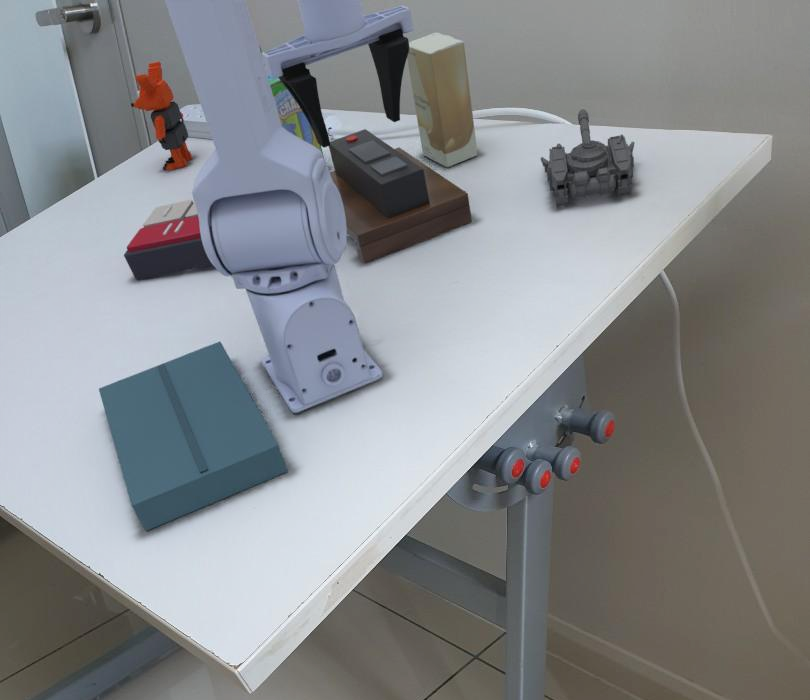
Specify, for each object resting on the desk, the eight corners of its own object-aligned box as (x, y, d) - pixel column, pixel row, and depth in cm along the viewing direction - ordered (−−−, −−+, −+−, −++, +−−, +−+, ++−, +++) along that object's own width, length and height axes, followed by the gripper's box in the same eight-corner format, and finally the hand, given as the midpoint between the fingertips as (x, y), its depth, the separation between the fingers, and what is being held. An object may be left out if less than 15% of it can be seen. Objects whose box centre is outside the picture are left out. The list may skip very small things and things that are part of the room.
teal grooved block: (288, 471, 64) (277, 443, 62) (146, 531, 62) (130, 504, 60) (229, 365, 77) (219, 339, 75) (110, 412, 75) (97, 386, 73)
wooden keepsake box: (472, 222, 88) (468, 193, 86) (364, 264, 86) (357, 235, 84) (404, 173, 101) (399, 146, 99) (309, 208, 99) (301, 182, 97)
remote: (429, 203, 86) (423, 166, 84) (388, 218, 85) (380, 182, 83) (372, 160, 98) (364, 127, 95) (335, 173, 97) (327, 140, 94)
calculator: (152, 204, 99) (273, 177, 96) (168, 239, 102) (286, 215, 98) (118, 249, 92) (249, 222, 88) (137, 286, 95) (264, 261, 91)
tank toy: (541, 166, 94) (536, 116, 91) (631, 151, 93) (630, 99, 89) (545, 214, 86) (540, 161, 82) (644, 198, 84) (643, 144, 81)
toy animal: (165, 155, 123) (131, 63, 115) (201, 150, 122) (168, 57, 114) (145, 179, 118) (107, 84, 109) (182, 173, 116) (146, 77, 108)
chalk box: (229, 188, 109) (186, 59, 99) (287, 158, 112) (250, 31, 102) (271, 200, 103) (229, 65, 93) (330, 169, 106) (296, 35, 96)
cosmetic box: (421, 155, 104) (401, 43, 95) (453, 143, 105) (435, 30, 96) (448, 169, 99) (428, 52, 91) (480, 155, 100) (464, 38, 92)
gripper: (380, -52, 82) (408, 99, 91) (237, -6, 80) (280, 145, 89) (409, -45, 77) (436, 114, 86) (257, 5, 75) (301, 163, 84)
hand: (359, 131), depth 87 cm, fingers open, 7 cm apart
